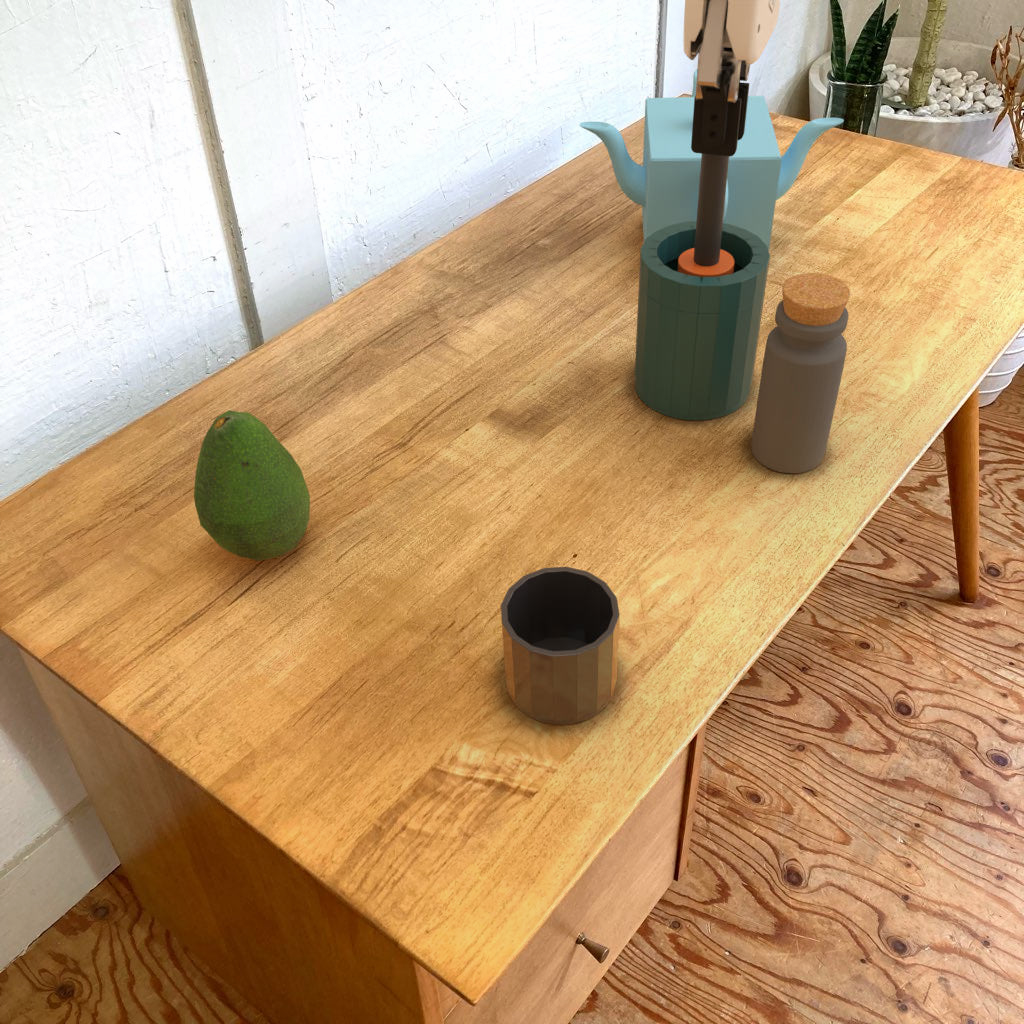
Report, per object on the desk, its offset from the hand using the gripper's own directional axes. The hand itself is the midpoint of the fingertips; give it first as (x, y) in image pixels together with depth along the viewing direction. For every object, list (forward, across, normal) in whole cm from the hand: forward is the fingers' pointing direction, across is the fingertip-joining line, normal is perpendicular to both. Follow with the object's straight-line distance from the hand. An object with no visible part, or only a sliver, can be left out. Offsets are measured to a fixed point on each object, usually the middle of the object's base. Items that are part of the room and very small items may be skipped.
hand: (717, 143), depth 76 cm
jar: (+22, 0, 0) cm, 22 cm away
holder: (+22, -34, +1) cm, 40 cm away
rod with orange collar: (+14, 0, 0) cm, 14 cm away
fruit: (+22, -29, +26) cm, 45 cm away
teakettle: (+22, +25, +5) cm, 34 cm away
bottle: (+22, -6, -9) cm, 25 cm away
